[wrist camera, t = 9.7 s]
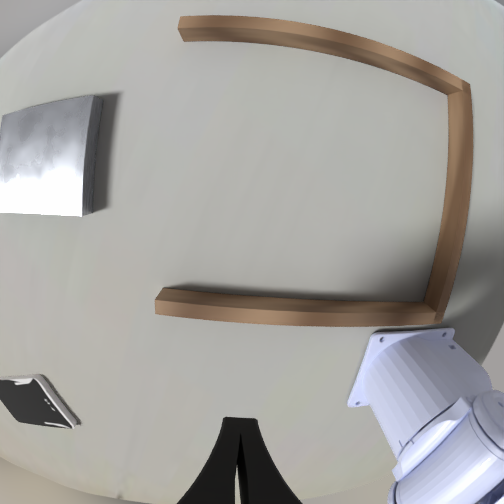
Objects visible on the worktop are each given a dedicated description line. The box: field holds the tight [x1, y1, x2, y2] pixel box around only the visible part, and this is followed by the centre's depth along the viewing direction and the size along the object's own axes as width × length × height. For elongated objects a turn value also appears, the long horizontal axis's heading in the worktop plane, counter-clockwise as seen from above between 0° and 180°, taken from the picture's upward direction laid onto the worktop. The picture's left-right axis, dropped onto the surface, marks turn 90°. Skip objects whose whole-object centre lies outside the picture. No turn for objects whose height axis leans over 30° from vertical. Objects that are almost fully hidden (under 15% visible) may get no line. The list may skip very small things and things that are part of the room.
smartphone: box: [0, 374, 77, 429], centre depth 22 cm, size 8×1×15 cm
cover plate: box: [0, 95, 103, 216], centre depth 15 cm, size 10×8×2 cm
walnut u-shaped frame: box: [155, 15, 473, 327], centre depth 16 cm, size 21×19×2 cm
